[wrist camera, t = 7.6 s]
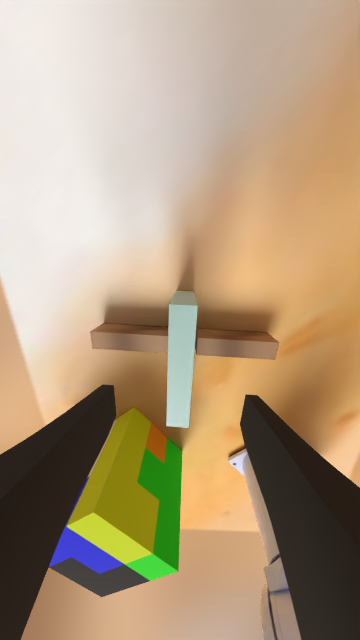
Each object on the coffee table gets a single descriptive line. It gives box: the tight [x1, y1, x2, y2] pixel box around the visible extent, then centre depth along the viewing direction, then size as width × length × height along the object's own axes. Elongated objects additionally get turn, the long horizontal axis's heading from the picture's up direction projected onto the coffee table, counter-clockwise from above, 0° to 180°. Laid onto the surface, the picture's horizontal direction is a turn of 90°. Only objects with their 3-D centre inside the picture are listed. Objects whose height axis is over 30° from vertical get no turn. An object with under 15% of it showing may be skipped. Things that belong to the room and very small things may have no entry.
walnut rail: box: [90, 323, 279, 360], centre depth 17 cm, size 18×2×3 cm, turn 88°
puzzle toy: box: [49, 407, 182, 597], centre depth 19 cm, size 10×10×10 cm
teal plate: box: [166, 291, 198, 428], centre depth 15 cm, size 10×2×7 cm, turn 178°
